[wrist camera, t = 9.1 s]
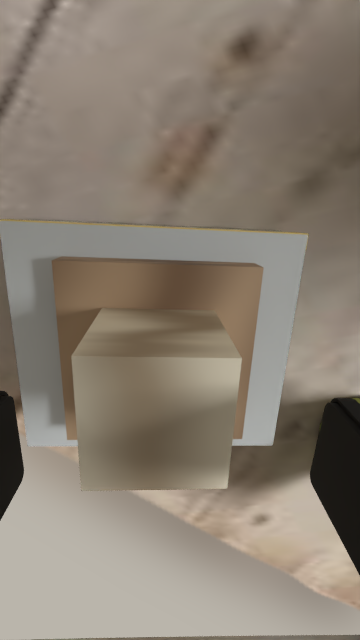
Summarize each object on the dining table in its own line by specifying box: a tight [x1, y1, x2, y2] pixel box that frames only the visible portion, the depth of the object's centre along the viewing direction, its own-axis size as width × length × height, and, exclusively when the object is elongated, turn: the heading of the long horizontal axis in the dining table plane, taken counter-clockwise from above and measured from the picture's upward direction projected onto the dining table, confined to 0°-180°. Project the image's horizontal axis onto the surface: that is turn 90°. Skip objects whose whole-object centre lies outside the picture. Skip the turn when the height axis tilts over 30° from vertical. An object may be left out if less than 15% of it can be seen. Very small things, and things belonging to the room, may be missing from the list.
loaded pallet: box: [52, 256, 264, 491], centre depth 13 cm, size 9×9×6 cm
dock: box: [0, 219, 309, 446], centre depth 18 cm, size 14×12×4 cm
